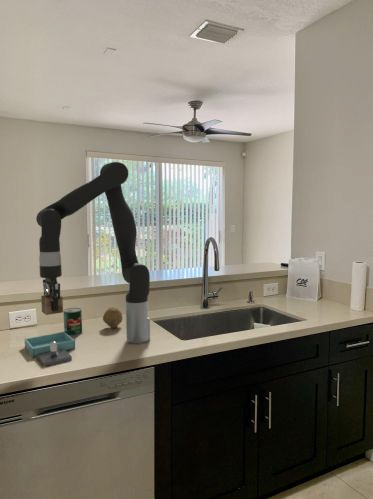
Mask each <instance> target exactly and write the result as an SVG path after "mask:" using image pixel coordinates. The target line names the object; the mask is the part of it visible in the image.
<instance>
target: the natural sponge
mask: <svg viewBox="0 0 373 499" xmlns="http://www.w3.org/2000/svg"><path fill="white" fill-rule="evenodd" d="M102 320H103V322H104V323H105V324H106V325H108V327H110V328H111V329H115V328H117V327H118V326H119V325H120V324H121V323H122V321H123V314H122V312H121V310H120V309H119V308H118V307H115V306H113V307H109V308H107V309H106V311H105V312H104V314H103V317H102Z"/></svg>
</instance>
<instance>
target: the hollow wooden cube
mask: <svg viewBox="0 0 373 499" xmlns="http://www.w3.org/2000/svg"><path fill="white" fill-rule="evenodd" d="M40 297H41V298H40V302H41V305H40V306H41V313H43V314H44V315H45V316H50V315H54V314H55V315H56V314H62V313H64V304H63V303H64V302H63V295H61V294H60V300H58V311H52V310H51V297H50V295H44V294H43V295H41V296H40ZM55 297H56V295H55Z"/></svg>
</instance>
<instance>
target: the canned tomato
mask: <svg viewBox="0 0 373 499" xmlns="http://www.w3.org/2000/svg"><path fill="white" fill-rule="evenodd" d="M82 311H83V310H82V308H81V307H68V308H64V309H63V325H64V326H63V330H64V331H63V332H65V333H66V334H68V335H69V336H70V337H73V336H74V337H77V336H80V335H82V334H83V318H82V317H83V315H82V313H83V312H82Z"/></svg>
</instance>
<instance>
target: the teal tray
mask: <svg viewBox="0 0 373 499" xmlns="http://www.w3.org/2000/svg"><path fill="white" fill-rule="evenodd" d="M51 342H56V343H57V350H59V349H64V350H65V351H67V352H68V351H71V350H75V349H76V340H75V339H74V338H72V336H69V335H68V334H66V333H65V332H64V331H59V332H54V333H50V334H49V333H48V334H45V335H39V336H33V337H28V338H24V348H25V350H26V351H28V352H27V353H29V354H30V356H31V358H33V359H34V358H37V354H40V353H45V352H49V351H50V344H51Z"/></svg>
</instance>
